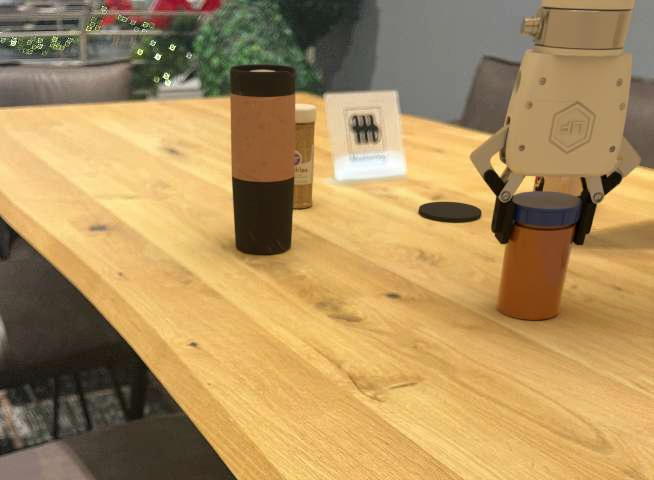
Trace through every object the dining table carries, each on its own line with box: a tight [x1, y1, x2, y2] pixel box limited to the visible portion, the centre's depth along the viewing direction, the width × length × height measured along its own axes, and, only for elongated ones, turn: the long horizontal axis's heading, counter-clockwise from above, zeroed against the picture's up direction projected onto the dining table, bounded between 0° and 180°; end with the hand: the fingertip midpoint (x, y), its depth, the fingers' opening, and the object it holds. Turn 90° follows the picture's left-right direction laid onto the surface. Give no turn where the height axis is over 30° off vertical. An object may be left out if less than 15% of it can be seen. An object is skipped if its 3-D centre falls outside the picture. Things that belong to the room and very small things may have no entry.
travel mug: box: [229, 63, 297, 256], centre depth 92 cm, size 8×8×20 cm
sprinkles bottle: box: [293, 103, 317, 209], centre depth 110 cm, size 5×5×13 cm
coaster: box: [418, 201, 483, 223], centre depth 111 cm, size 9×9×1 cm
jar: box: [496, 220, 576, 321], centre depth 78 cm, size 6×6×10 cm
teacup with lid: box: [532, 176, 582, 197], centre depth 110 cm, size 12×9×12 cm
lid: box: [512, 190, 583, 226], centre depth 75 cm, size 7×7×2 cm
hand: (538, 239), depth 77 cm, fingers closed on lid, 6 cm apart
